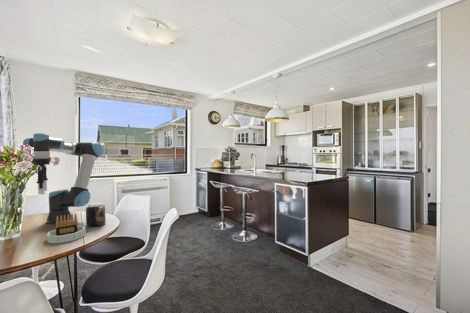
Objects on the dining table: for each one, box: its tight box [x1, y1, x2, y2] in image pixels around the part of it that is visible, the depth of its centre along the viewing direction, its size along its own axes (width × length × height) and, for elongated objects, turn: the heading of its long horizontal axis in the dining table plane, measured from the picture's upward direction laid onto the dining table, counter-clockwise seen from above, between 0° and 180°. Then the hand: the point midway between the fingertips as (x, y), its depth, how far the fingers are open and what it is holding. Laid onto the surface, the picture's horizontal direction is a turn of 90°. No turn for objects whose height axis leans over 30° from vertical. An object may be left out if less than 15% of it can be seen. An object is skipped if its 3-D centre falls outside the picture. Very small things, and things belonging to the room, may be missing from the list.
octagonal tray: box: [46, 225, 87, 244], centre depth 137 cm, size 19×19×4 cm
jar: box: [85, 202, 107, 228], centre depth 160 cm, size 12×12×15 cm
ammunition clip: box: [55, 213, 78, 236], centre depth 137 cm, size 11×2×12 cm, turn 125°
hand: (42, 192), depth 141 cm, fingers open, 13 cm apart
